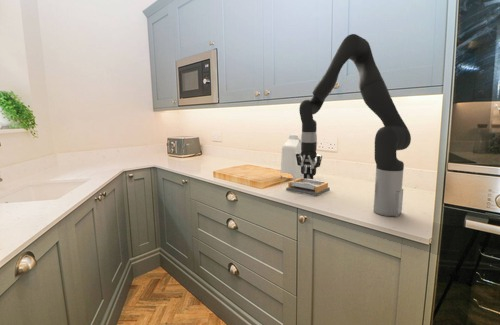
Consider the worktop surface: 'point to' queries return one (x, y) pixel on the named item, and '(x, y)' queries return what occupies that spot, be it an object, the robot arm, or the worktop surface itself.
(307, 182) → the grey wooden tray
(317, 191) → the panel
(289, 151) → the milk
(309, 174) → the dark piece
